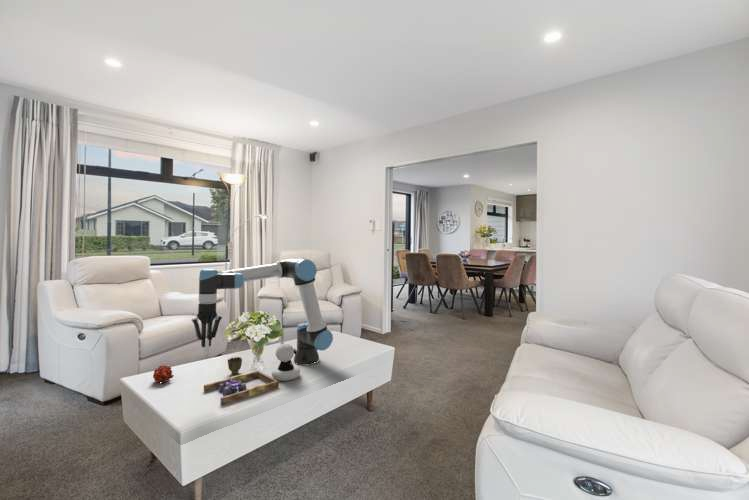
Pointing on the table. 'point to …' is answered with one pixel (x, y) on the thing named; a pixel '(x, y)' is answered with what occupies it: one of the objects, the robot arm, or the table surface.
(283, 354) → the decorative figurine
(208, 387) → the wooden tray
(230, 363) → the cup
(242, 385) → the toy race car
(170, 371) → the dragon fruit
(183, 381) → the table surface
